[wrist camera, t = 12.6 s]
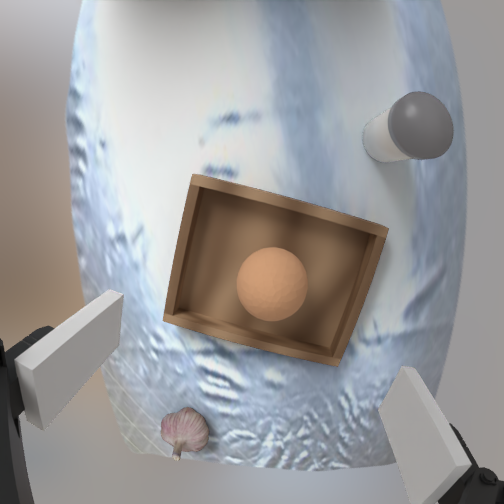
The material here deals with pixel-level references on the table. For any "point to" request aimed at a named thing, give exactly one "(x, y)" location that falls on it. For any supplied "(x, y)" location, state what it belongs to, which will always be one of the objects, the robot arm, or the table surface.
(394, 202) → the table surface
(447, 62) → the table surface
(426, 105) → the shaker
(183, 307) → the tray
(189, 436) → the garlic bulb
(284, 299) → the egg
